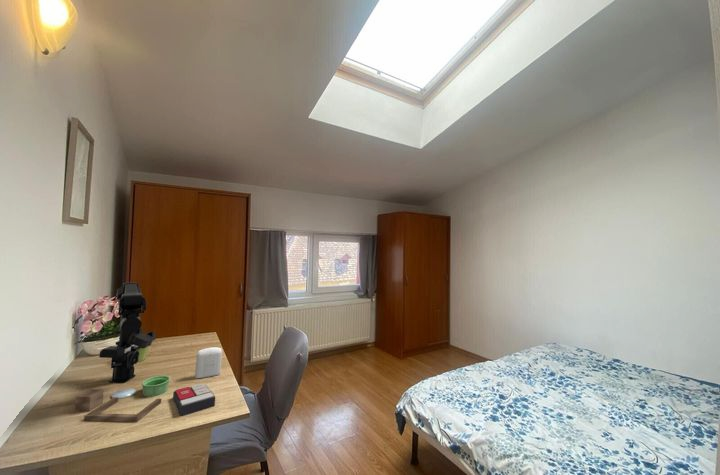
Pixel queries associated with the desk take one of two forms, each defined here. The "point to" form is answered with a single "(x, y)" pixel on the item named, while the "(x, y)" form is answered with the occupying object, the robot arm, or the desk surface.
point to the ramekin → (155, 385)
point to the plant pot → (142, 354)
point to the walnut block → (89, 400)
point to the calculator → (193, 399)
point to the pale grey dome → (123, 393)
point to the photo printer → (208, 362)
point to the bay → (99, 416)
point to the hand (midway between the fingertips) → (126, 367)
